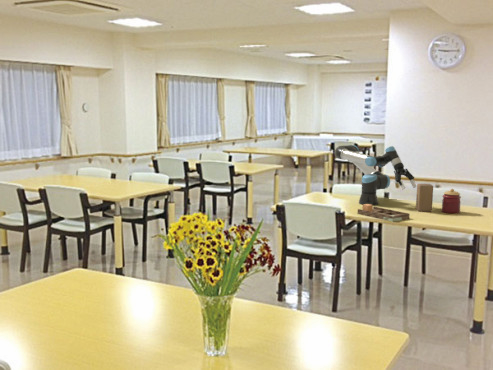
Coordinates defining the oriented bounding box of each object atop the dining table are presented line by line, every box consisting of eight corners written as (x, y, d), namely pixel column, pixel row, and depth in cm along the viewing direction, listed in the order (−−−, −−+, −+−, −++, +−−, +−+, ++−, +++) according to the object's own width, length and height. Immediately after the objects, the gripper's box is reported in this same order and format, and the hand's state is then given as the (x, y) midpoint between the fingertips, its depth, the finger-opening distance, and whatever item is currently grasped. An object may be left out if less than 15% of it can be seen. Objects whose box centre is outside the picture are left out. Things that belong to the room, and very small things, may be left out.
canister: (447, 214, 389) (449, 190, 386) (438, 210, 402) (439, 187, 399) (463, 213, 391) (465, 189, 389) (453, 210, 404) (455, 187, 401)
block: (428, 209, 406) (430, 183, 403) (432, 212, 396) (433, 185, 393) (415, 209, 407) (416, 183, 404) (418, 211, 397) (419, 185, 394)
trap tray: (357, 213, 388) (357, 209, 388) (373, 211, 399) (374, 206, 398) (392, 221, 362) (392, 216, 362) (409, 218, 373) (409, 213, 372)
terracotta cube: (362, 211, 387) (362, 204, 386) (367, 210, 390) (367, 203, 389) (367, 212, 383) (368, 205, 382) (372, 211, 386) (372, 204, 385)
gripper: (390, 163, 408) (402, 187, 401) (410, 161, 423) (423, 184, 415) (383, 167, 414) (395, 191, 406) (404, 165, 428) (416, 188, 421)
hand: (409, 188), depth 411 cm, fingers open, 13 cm apart
